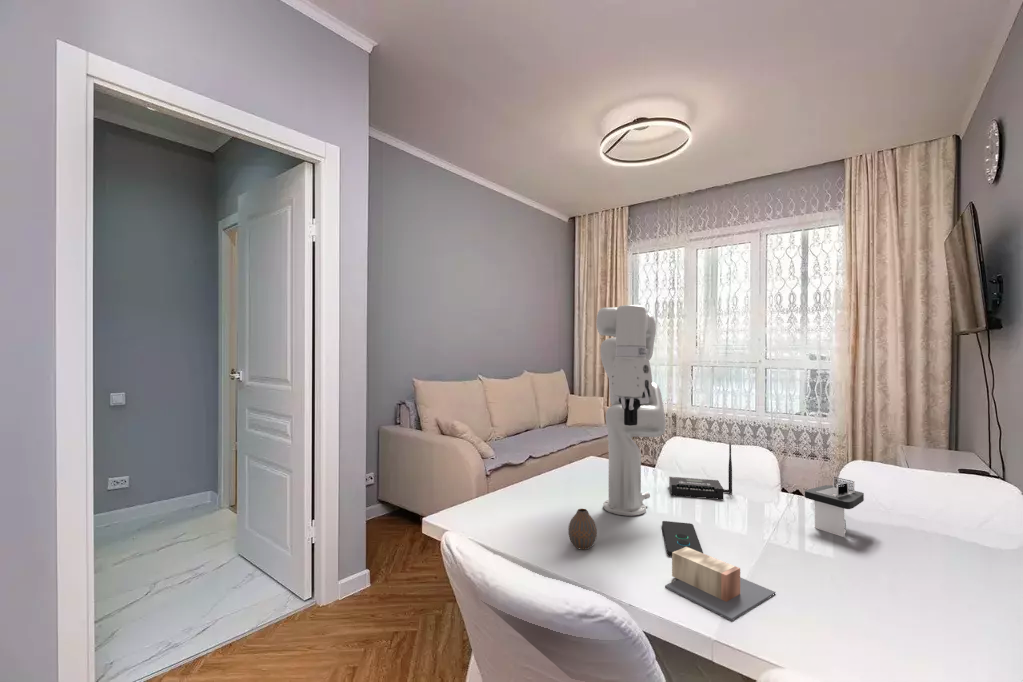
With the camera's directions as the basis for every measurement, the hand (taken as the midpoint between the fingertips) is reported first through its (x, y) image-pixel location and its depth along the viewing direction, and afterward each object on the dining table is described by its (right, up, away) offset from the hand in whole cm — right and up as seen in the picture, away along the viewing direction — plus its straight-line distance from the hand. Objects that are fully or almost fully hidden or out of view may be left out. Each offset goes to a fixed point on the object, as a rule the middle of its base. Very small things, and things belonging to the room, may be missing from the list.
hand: (630, 424), depth 118 cm
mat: (+11, -29, -26) cm, 40 cm away
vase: (-13, -29, -5) cm, 32 cm away
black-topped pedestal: (+58, -30, +7) cm, 66 cm away
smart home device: (+12, -30, -1) cm, 32 cm away
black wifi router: (+34, -31, +38) cm, 59 cm away
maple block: (+6, -26, -19) cm, 33 cm away
